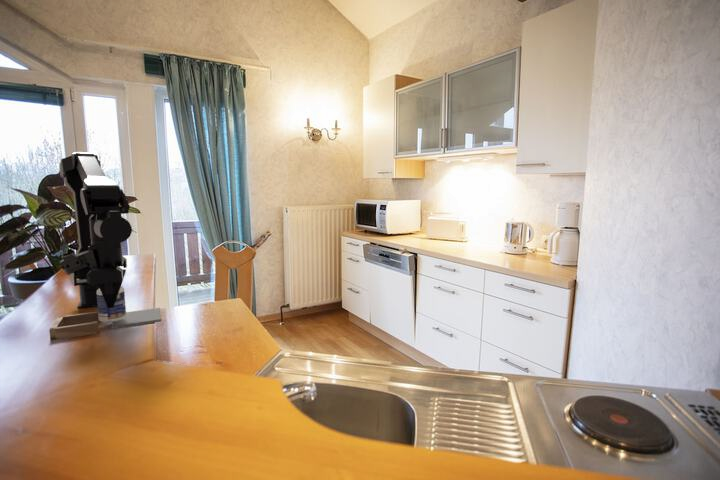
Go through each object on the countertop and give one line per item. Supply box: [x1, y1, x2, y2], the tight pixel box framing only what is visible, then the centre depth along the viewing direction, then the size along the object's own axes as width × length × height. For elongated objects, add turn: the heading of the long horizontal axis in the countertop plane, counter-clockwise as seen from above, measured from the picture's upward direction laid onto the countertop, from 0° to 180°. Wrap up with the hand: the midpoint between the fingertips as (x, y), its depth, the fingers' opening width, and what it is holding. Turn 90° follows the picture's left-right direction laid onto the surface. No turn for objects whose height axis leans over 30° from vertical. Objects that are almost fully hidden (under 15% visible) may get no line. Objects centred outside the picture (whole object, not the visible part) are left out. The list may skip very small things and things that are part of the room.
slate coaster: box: [111, 307, 162, 330], centre depth 91 cm, size 10×10×1 cm
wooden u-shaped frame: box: [48, 311, 102, 342], centre depth 83 cm, size 9×8×2 cm
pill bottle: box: [97, 285, 127, 323], centre depth 86 cm, size 5×5×10 cm
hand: (111, 304), depth 86 cm, fingers closed on pill bottle, 5 cm apart
